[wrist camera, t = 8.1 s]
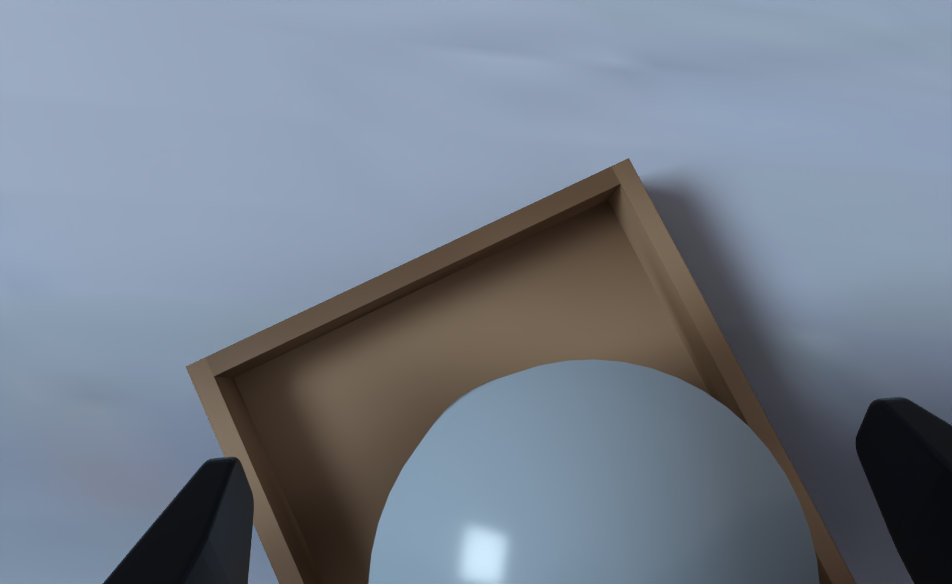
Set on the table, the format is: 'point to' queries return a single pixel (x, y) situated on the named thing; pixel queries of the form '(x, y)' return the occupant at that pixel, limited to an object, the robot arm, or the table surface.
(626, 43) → the table surface
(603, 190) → the tray
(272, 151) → the table surface
